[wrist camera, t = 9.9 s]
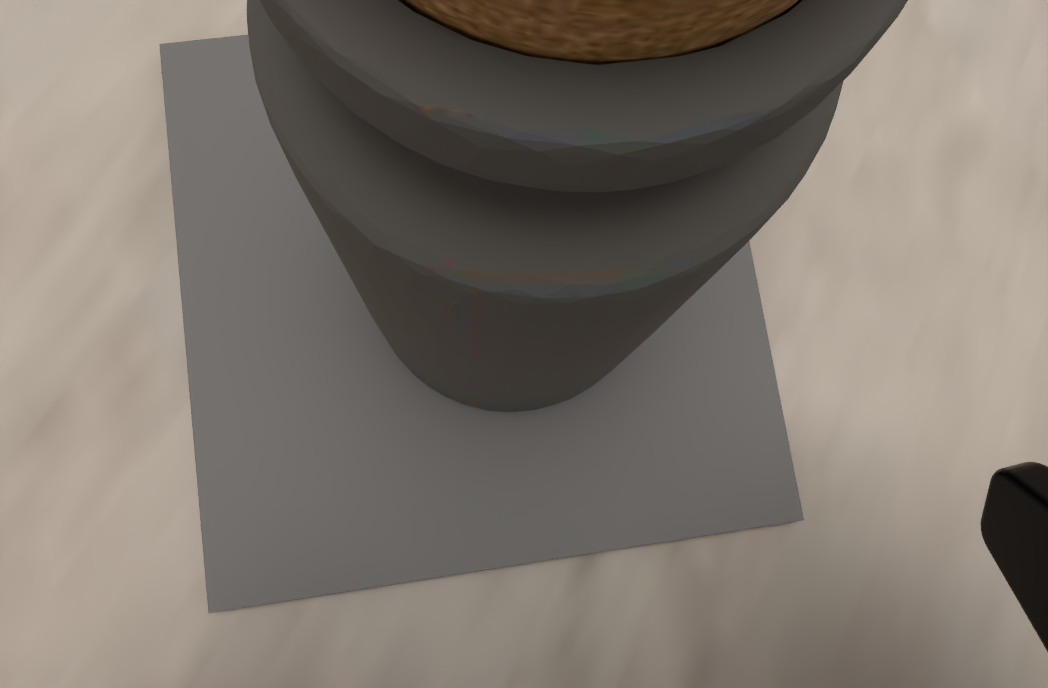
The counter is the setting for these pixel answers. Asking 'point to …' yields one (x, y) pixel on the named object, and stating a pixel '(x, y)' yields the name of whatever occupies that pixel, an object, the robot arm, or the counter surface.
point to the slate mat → (423, 398)
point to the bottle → (546, 162)
